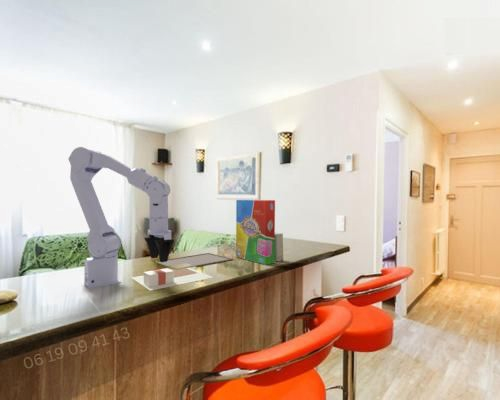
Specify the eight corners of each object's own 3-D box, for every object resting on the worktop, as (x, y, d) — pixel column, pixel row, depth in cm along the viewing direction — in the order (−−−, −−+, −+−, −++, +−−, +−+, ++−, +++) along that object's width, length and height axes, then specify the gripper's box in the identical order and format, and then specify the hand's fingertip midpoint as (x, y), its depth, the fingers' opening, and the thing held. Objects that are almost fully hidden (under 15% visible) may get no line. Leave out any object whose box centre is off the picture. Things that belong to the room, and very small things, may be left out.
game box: (235, 257, 133) (235, 199, 133) (244, 255, 136) (244, 199, 136) (266, 265, 117) (266, 199, 117) (275, 263, 120) (275, 199, 120)
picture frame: (208, 254, 141) (154, 263, 122) (208, 252, 141) (154, 261, 122) (232, 261, 127) (176, 271, 108) (232, 258, 127) (176, 269, 108)
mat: (150, 291, 83) (150, 290, 83) (130, 278, 97) (130, 277, 97) (213, 278, 97) (213, 276, 97) (188, 268, 111) (188, 267, 111)
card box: (149, 287, 86) (149, 275, 86) (143, 283, 90) (143, 271, 90) (173, 282, 92) (173, 270, 92) (167, 278, 95) (167, 268, 95)
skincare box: (283, 260, 125) (283, 233, 125) (276, 262, 123) (276, 234, 123) (273, 258, 130) (273, 232, 130) (266, 259, 127) (266, 232, 127)
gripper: (180, 218, 88) (180, 261, 88) (161, 216, 99) (161, 254, 99) (158, 219, 83) (158, 265, 83) (141, 217, 94) (141, 257, 94)
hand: (158, 259), depth 91 cm, fingers open, 7 cm apart
